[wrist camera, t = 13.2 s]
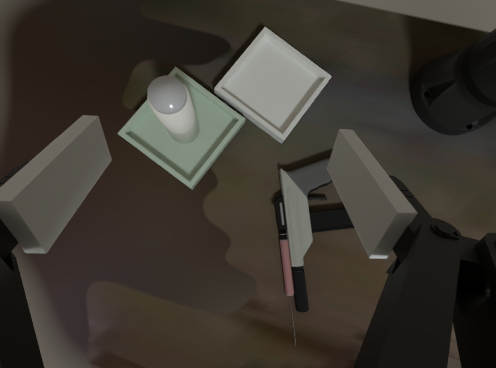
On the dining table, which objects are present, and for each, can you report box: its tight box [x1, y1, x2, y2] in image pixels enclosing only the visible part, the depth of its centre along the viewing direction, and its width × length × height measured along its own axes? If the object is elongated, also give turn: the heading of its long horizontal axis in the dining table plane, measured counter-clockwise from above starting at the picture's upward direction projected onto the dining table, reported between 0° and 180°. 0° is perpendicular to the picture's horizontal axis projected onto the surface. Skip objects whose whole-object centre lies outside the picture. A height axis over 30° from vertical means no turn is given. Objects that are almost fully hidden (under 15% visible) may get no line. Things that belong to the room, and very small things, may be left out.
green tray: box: [118, 67, 245, 189], centre depth 43 cm, size 15×15×2 cm
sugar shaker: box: [147, 76, 200, 144], centre depth 37 cm, size 5×5×13 cm
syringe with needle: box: [272, 157, 355, 343], centre depth 44 cm, size 31×2×15 cm
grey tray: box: [214, 27, 332, 144], centre depth 46 cm, size 15×15×2 cm
